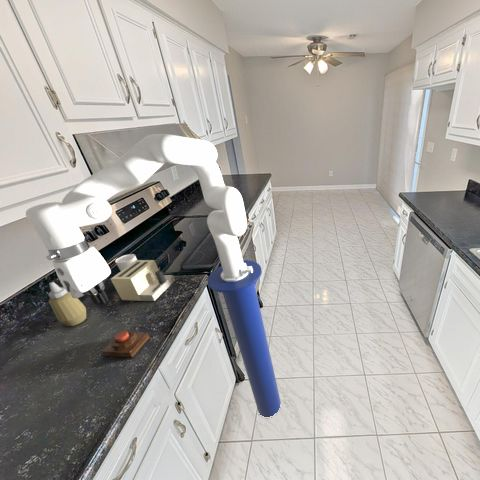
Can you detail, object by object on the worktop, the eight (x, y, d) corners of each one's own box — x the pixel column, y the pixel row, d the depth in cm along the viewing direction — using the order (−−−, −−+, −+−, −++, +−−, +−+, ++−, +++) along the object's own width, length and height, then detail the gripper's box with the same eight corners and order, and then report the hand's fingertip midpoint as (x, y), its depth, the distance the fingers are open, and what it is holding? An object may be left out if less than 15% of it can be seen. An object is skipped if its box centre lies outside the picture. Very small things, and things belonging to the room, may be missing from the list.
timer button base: (149, 337, 87) (145, 328, 85) (132, 357, 80) (127, 348, 78) (123, 336, 88) (118, 327, 86) (104, 356, 81) (98, 347, 79)
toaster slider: (167, 279, 111) (163, 270, 109) (163, 283, 109) (159, 274, 107) (161, 279, 112) (157, 270, 109) (157, 283, 109) (153, 274, 107)
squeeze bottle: (74, 314, 100) (49, 277, 92) (95, 312, 100) (72, 275, 92) (57, 330, 93) (28, 291, 84) (79, 328, 93) (53, 289, 85)
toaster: (175, 280, 116) (167, 260, 111) (154, 301, 104) (144, 279, 99) (145, 280, 118) (136, 259, 113) (121, 300, 106) (110, 278, 101)
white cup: (146, 273, 123) (138, 255, 119) (130, 282, 117) (121, 264, 113) (136, 270, 127) (128, 252, 122) (120, 279, 120) (111, 261, 116)
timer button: (132, 334, 84) (130, 330, 83) (123, 343, 81) (121, 339, 80) (122, 334, 84) (120, 330, 83) (113, 342, 81) (111, 339, 80)
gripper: (53, 265, 60) (91, 321, 68) (106, 236, 73) (132, 286, 82) (26, 264, 61) (66, 320, 69) (83, 236, 74) (111, 286, 82)
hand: (102, 302), depth 75 cm, fingers closed
